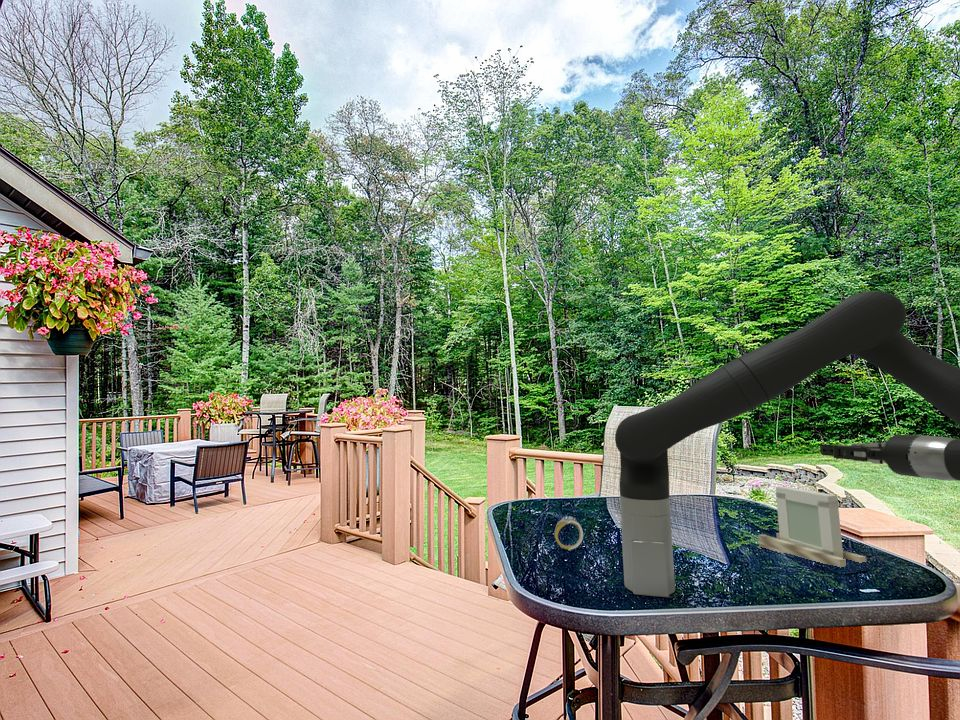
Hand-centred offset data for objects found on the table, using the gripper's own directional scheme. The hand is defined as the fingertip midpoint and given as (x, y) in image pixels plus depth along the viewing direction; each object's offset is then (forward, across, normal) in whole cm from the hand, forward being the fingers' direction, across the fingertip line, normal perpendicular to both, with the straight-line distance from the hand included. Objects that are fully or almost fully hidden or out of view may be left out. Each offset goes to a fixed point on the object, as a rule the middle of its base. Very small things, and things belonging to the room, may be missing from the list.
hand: (837, 449), depth 98 cm
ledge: (+9, 0, +25) cm, 27 cm away
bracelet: (+31, +48, +26) cm, 63 cm away
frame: (+8, 0, +24) cm, 26 cm away
